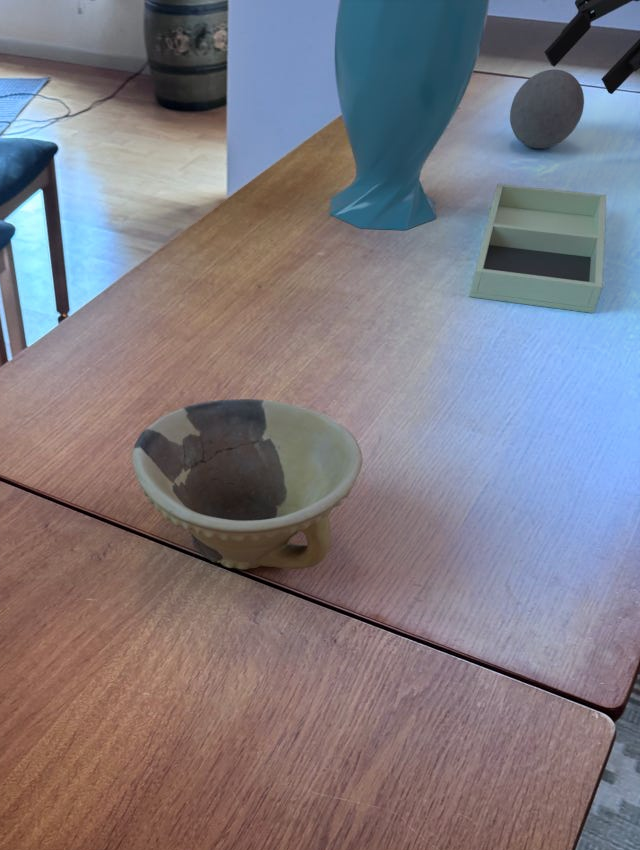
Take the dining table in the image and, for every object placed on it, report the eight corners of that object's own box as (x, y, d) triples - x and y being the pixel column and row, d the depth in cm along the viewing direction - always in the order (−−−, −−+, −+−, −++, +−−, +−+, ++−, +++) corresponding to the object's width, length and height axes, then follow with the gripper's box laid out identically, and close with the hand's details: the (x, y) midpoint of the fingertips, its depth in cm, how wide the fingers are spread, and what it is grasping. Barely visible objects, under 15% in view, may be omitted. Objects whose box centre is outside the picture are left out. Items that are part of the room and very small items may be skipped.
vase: (314, 231, 118) (342, -55, 96) (321, 180, 129) (348, -86, 108) (450, 237, 116) (511, -54, 94) (445, 185, 127) (499, -86, 105)
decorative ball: (489, 140, 139) (506, 65, 131) (545, 131, 141) (564, 57, 133) (527, 162, 132) (548, 85, 125) (585, 152, 134) (608, 76, 127)
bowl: (390, 540, 76) (411, 445, 69) (247, 653, 68) (254, 558, 61) (235, 454, 85) (240, 362, 78) (91, 545, 77) (82, 451, 70)
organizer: (598, 219, 118) (606, 194, 116) (593, 313, 102) (602, 286, 99) (491, 207, 122) (497, 183, 119) (468, 296, 105) (475, 270, 103)
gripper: (784, -26, 117) (642, 118, 125) (655, -62, 133) (537, 67, 141) (769, -74, 112) (623, 79, 120) (638, -106, 128) (517, 30, 136)
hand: (576, 72), depth 131 cm, fingers open, 13 cm apart
